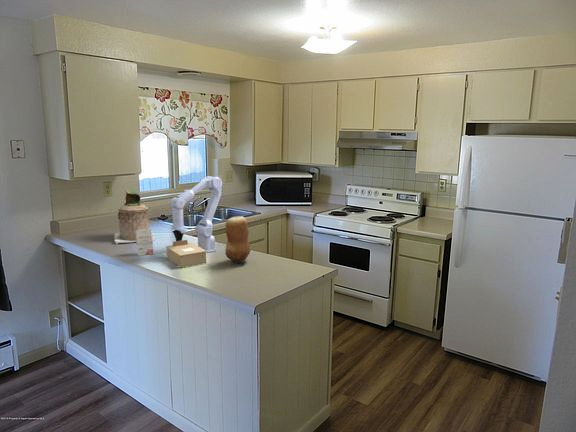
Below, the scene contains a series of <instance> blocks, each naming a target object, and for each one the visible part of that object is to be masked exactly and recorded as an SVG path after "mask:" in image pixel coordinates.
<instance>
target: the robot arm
mask: <svg viewBox="0 0 576 432" xmlns="http://www.w3.org/2000/svg"><path fill="white" fill-rule="evenodd" d="M222 186H223V181H222V179H221V178H220V177H219V176H210V175H208V176H205V177H204V178H202V180H201V181H199V182H198V183H197V184H196V185H195V186H193V187H192V188H190V189H184V190H183V192H182V193H180V194H178V195H177V196H175V197H172V198H171V199H170V201H169V206H170V207H171V213H172V217H171V218H172V224H171V228H170V229H171V230H172V234H173V236H174V238H175V241H182V240H183V237H184V234H185V233H186V229H185V226H184V208H185V205H186V204H187V203H188V202H190V201H191V200H193V199H194V197H195V195H196V194H198V193H199V192H201V191H203V190H204V189H208V190H209V192H210V197H209V200H208V202H207V205H206V208H205V211H204V214H203V217H202V219H200V220H199V221H198V223H197V224H196V226H195V228H194V231H195V234H196V235H197V236H196V237H197V246H199V247H200V248H202V249H204V250H206V251H207V253H210V252H211V253H213V252H216V250H217V249H216V239H215V236H214V235H212V234H213V227H214V225H213V223H212V222H213V219H214V217H215V216H214V215H215V213H216V210H217V208H218V205H219V201H220V198H221V196H222Z"/></svg>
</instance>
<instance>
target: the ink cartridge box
mask: <svg viewBox="0 0 576 432" xmlns="http://www.w3.org/2000/svg"><path fill="white" fill-rule="evenodd" d="M143 231H145V232H146V233H141V232H143ZM151 231H152V229H151V228H149V229H148V230H136V234H137V235H136V239H137V242H136V247H137V248H136V249H137V256H147V255H146V254H150V255H154V243H153V242H154V241H153V239H152V233H151Z"/></svg>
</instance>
